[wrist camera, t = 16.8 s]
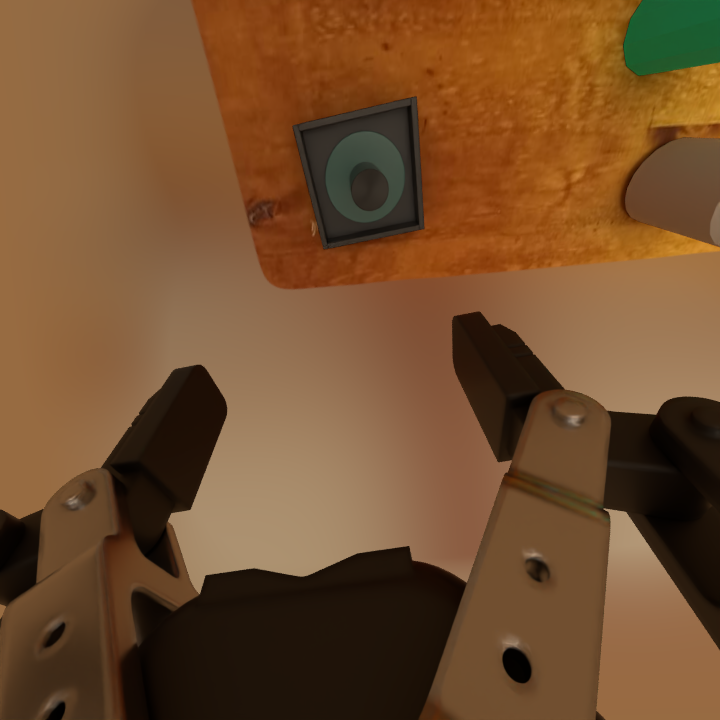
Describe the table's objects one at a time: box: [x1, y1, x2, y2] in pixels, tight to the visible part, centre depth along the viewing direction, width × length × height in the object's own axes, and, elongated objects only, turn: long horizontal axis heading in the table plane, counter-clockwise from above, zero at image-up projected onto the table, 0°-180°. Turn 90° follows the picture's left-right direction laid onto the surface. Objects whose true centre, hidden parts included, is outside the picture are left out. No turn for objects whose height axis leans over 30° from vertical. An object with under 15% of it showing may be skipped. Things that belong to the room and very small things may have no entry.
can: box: [625, 137, 720, 247], centre depth 28 cm, size 8×8×12 cm
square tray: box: [293, 96, 424, 249], centre depth 30 cm, size 10×10×2 cm
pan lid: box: [325, 131, 405, 223], centre depth 28 cm, size 8×8×7 cm
